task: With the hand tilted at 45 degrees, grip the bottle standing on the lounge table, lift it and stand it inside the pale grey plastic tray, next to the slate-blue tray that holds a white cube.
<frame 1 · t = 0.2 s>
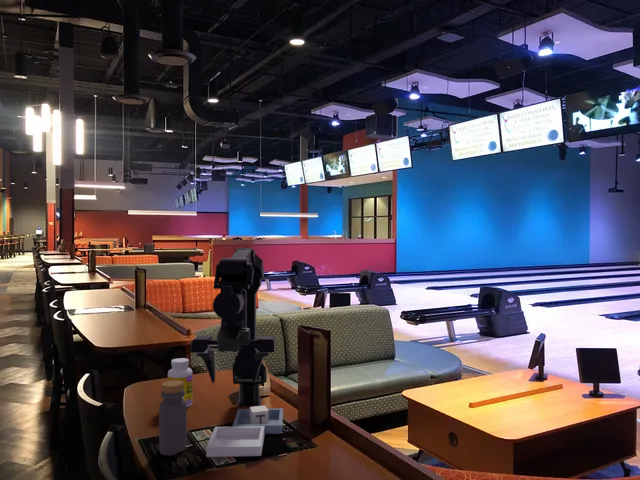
hand: (233, 382, 118), 14 cm above the table, tool pointing down, fingers open, 9 cm apart
white cube: (259, 424, 130), resting on blue tray
grey tray: (237, 447, 117), on the table
supplement bottle: (180, 406, 145), on the table
bottle: (173, 451, 116), on the table
blue tray: (259, 426, 130), on the table
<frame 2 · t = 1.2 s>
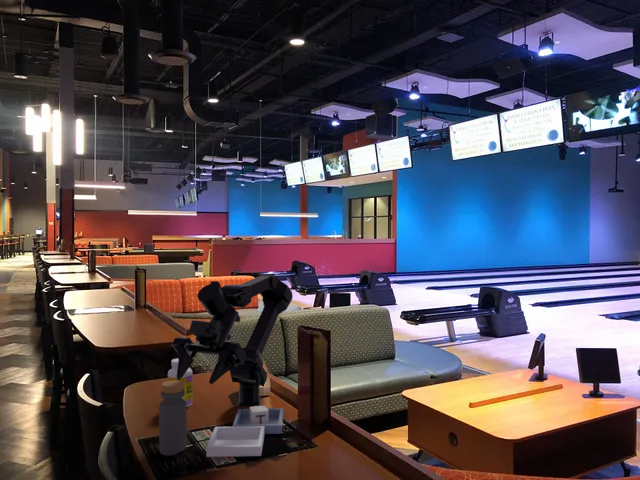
hand: (193, 381, 123), 13 cm above the table, tool tilted 45°, fingers open, 9 cm apart
nothing on the table moved.
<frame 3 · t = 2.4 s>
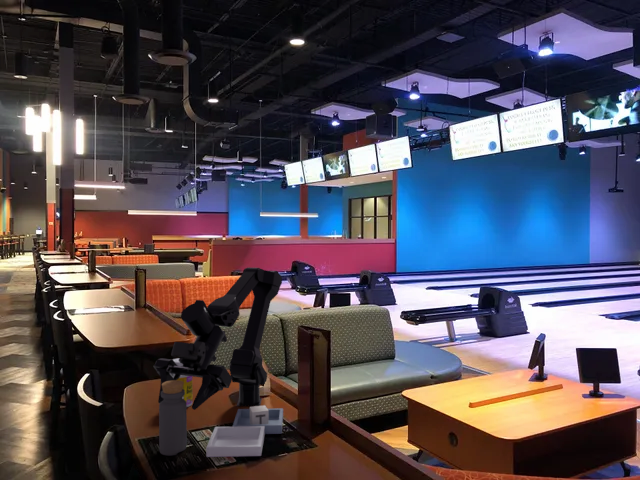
hand: (176, 406, 117), 9 cm above the table, tool tilted 45°, fingers open, 9 cm apart
nothing on the table moved.
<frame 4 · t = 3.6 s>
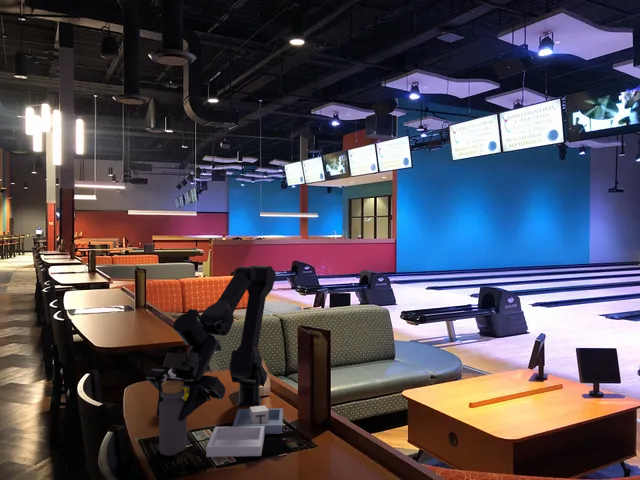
hand: (168, 418, 114), 8 cm above the table, tool tilted 45°, fingers closed on bottle, 6 cm apart
bottle: (173, 451, 116), on the table, touching gripper
everything else where it was.
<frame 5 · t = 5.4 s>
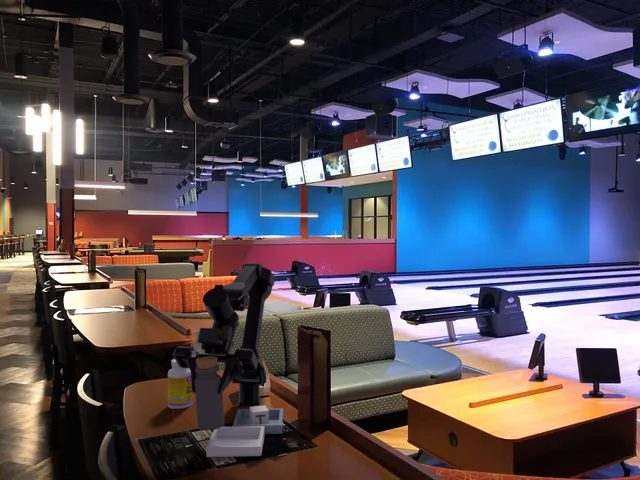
hand: (206, 392, 115), 13 cm above the table, tool tilted 45°, fingers closed on bottle, 6 cm apart
bottle: (211, 426, 116), point 5 cm above the table, touching gripper
everything else where it was.
when the fingers open (9 cm above the table, at t = 7.4 s): bottle stays where it is, resting on grey tray.
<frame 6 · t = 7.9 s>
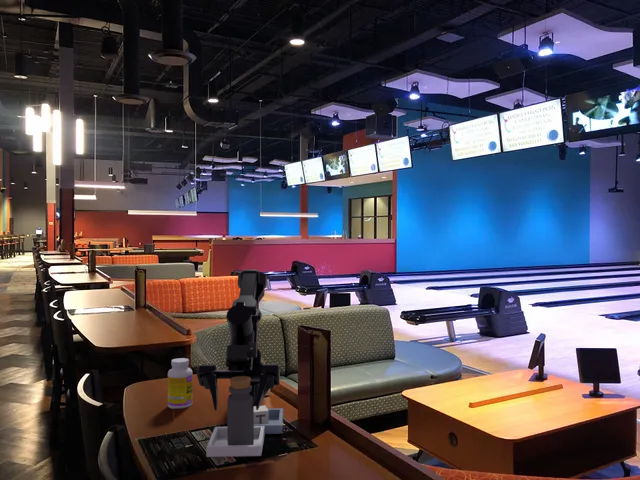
hand: (236, 409, 116), 9 cm above the table, tool tilted 45°, fingers open, 9 cm apart
bottle: (240, 445, 118), resting on grey tray
everything else where it was.
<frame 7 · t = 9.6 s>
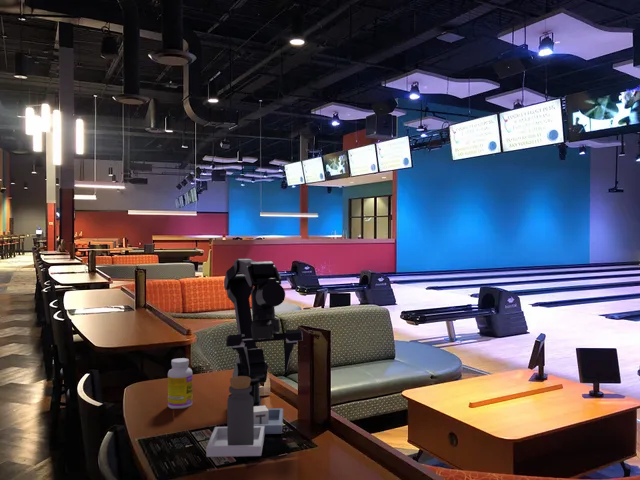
hand: (267, 373, 129), 13 cm above the table, tool pointing down, fingers open, 9 cm apart
nothing on the table moved.
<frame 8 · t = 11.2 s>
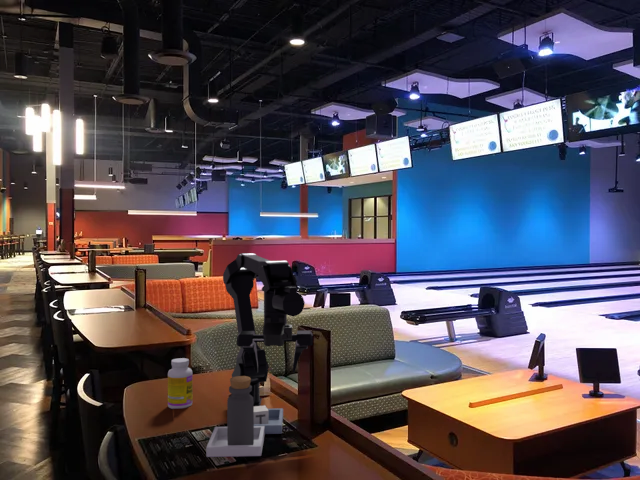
hand: (275, 372, 131), 13 cm above the table, tool pointing down, fingers open, 9 cm apart
nothing on the table moved.
at the end: bottle inside the target area on the grey tray (0.8 cm from its centre), point 0.3 cm above the grey tray's base; bottle tilted 0°; the gripper is holding nothing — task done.
